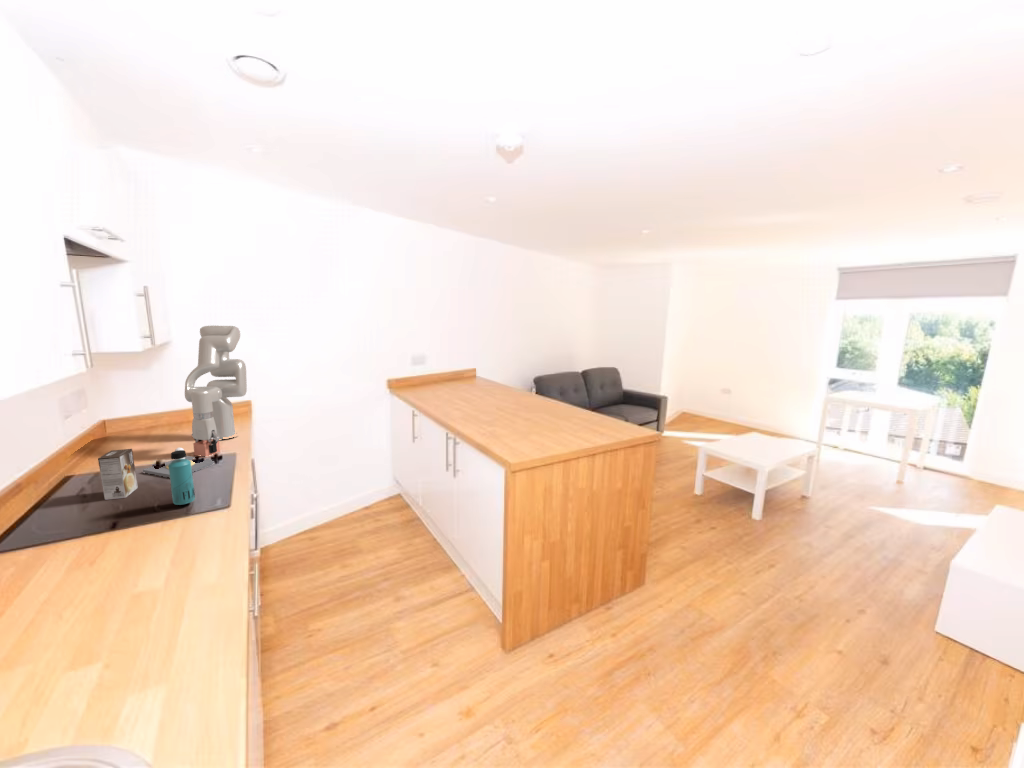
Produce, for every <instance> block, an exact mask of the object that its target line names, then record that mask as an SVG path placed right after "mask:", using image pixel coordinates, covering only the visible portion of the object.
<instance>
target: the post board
mask: <svg viewBox="0 0 1024 768" xmlns="http://www.w3.org/2000/svg"><path fill="white" fill-rule="evenodd" d="M179 450H184V451H185V449H184V448H183V447H176V448H175V450H174V451H179ZM195 457H196V456H190V455H186V457H184V458H181V459H187V460H189V461H191V467H192V468H191V469H192V472H193V473H195V472H194V471H196V472H198V471H197V470H199V469H201V470H203V469H202V468H204V469H206V468H205V467H207V466H210V465H212V464H213V463H214V461H212V460H213V459H209V458H205V459H206V460H205V461H203V462H200V463H195V462H193V461H192V459H193V458H195ZM174 460H178V459H172V460H169V461H166V462H164V463H165V466H163V467H161V468H159V469H155V468H154V466H155V465H153V466H151V467H147V468H144V469H142V473H143V472H145V473H149V474H148V475H150V474H155V475H154V476H156V475H159V476H158V477H161V476H163V477H162V478H167V477H169V479H170V474H169V467H168V465H169V464H170V463H171V462H172V461H174ZM212 466H213V465H212ZM210 467H211V466H210ZM207 468H208V467H207ZM199 471H200V470H199ZM145 473H144V474H145Z"/></svg>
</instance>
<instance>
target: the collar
mask: <svg viewBox="0 0 1024 768" xmlns="http://www.w3.org/2000/svg"><path fill="white" fill-rule="evenodd" d="M211 441H213V440H211ZM192 444H193V453H194V456H195V455H201V456H200V457H202V456H208V457H210V456H209V455H211V456H213V455H212V454H214V455H216V454H215V453H217V452H220V453H221V448H220V447H221V446H220V440H218V442H217V444H216V446H217V452H214V453H210V451H209V445H210V444H209V442H208V440H207V441H205V440H203V441H199V442H196V443H195V442H192ZM217 454H218V453H217Z"/></svg>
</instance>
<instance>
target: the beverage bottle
mask: <svg viewBox="0 0 1024 768" xmlns="http://www.w3.org/2000/svg"><path fill="white" fill-rule="evenodd" d="M186 456H187V452H186V451H185V449H184V450H179V451H175V450H174V451H172V452H171V453H170V459H172V460H174V461H172V460H171V461H172V462H171V463H170V464H169V465H168V467H169V474H170V478H169V479H170V492H171V495H170V496H171V499H172V503H173V504H174V505H177V506H178V505H179V506H181V505H187V504H190V503H191V502H192V503H193V502H194V501H195V499H196V492H195V486H194V475H193V474H194V472H192V469H191V468H192V467H191V461H189V460H187V459H181V458H184V457H186ZM175 459H178V460H175Z"/></svg>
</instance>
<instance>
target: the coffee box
mask: <svg viewBox="0 0 1024 768" xmlns="http://www.w3.org/2000/svg"><path fill="white" fill-rule="evenodd" d="M134 459H135V458H134V453H133V448H124V449H112V450H110V451H108V452H107V453H105V454H103V455H101V456H99V457H98V458H97V461H98V466H99V467H98V468H99V472H100V478H101V485H102V486H101V487H102V491H103V497H104V500H108V501H109V500H115V499H116V500H117V499H123V498H128V497H129V495H131V494H132V493H134V491H136V490H137V489H138V488H139V487H138V486H139V485H138V480H137V475H136V474H137V473H136V468H135V467H136V466H135V461H134Z"/></svg>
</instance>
